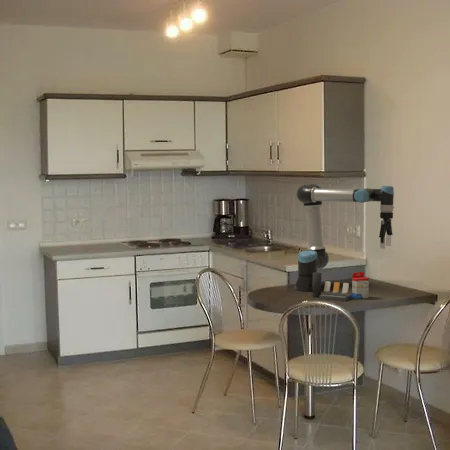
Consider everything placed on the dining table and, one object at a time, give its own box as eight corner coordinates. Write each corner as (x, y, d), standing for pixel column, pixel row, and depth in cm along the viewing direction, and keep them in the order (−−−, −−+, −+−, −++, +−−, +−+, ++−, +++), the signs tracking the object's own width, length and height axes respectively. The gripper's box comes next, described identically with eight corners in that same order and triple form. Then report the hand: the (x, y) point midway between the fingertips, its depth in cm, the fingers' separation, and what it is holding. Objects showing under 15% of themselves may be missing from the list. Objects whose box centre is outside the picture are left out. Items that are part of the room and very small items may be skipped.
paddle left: (323, 292, 415) (325, 281, 417) (324, 293, 416) (326, 281, 418) (328, 292, 413) (330, 281, 415) (329, 293, 414) (331, 282, 416)
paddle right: (341, 294, 409) (343, 282, 411) (342, 294, 411) (344, 283, 413) (346, 294, 408) (348, 283, 410) (347, 295, 409) (349, 283, 411)
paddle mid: (332, 293, 412) (334, 281, 414) (333, 293, 413) (335, 282, 415) (337, 293, 411) (339, 282, 412) (338, 294, 412) (340, 283, 414)
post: (311, 297, 417) (311, 273, 416) (314, 295, 421) (314, 272, 420) (319, 297, 415) (319, 274, 413) (322, 296, 419) (322, 272, 418)
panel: (319, 298, 412) (319, 294, 411) (325, 295, 421) (325, 291, 421) (345, 301, 404) (345, 296, 404) (351, 298, 414) (352, 293, 413)
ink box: (356, 299, 410) (357, 274, 409) (351, 297, 415) (351, 272, 413) (368, 297, 414) (369, 272, 413) (363, 296, 418) (363, 271, 417)
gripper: (387, 213, 412) (386, 249, 415) (398, 210, 434) (396, 245, 437) (374, 213, 416) (373, 249, 418) (385, 210, 438) (384, 244, 440)
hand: (385, 247), depth 427 cm, fingers open, 13 cm apart
